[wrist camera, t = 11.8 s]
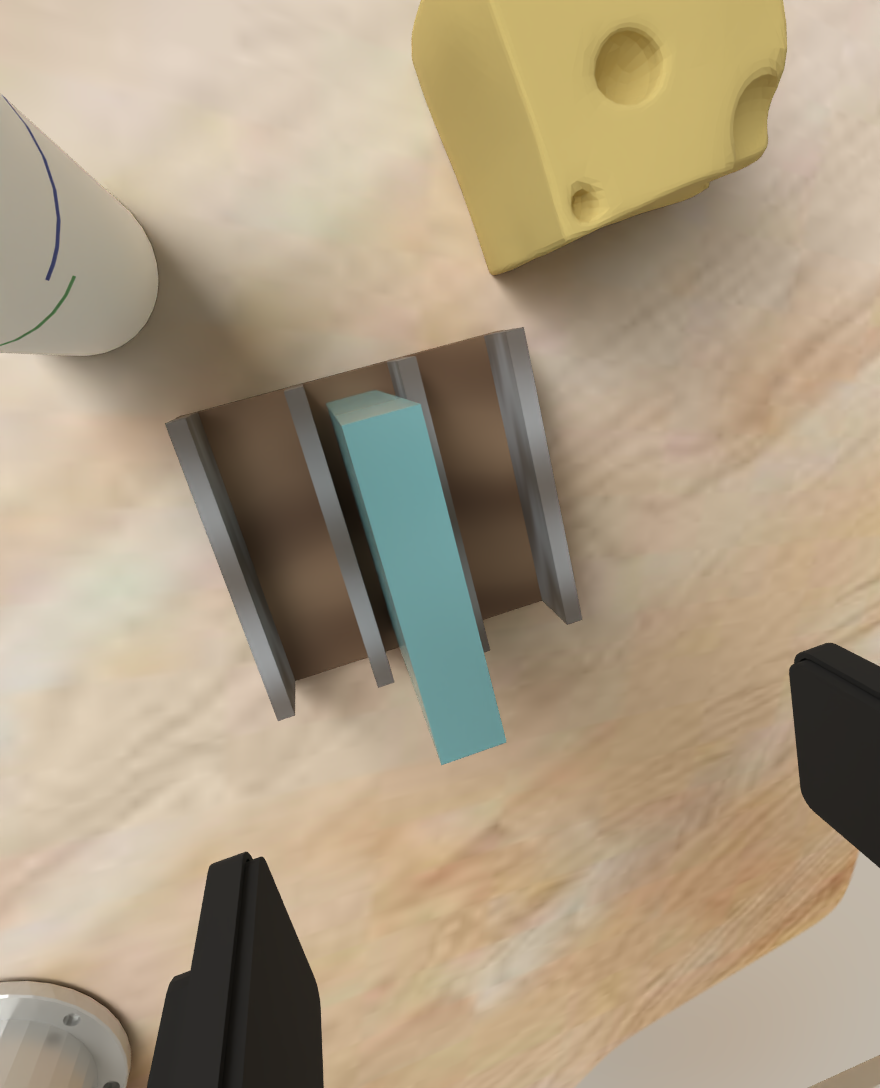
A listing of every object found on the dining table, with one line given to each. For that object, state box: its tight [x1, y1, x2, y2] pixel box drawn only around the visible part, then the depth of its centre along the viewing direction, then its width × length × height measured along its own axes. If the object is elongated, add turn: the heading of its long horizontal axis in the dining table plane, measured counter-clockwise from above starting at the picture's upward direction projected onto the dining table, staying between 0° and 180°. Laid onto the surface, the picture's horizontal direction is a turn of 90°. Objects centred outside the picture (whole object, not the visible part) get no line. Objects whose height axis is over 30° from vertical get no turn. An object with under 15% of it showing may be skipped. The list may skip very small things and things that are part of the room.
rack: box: [165, 327, 582, 721], centre depth 31 cm, size 14×16×5 cm
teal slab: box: [326, 390, 506, 765], centre depth 27 cm, size 12×2×12 cm, turn 14°
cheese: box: [412, 0, 787, 275], centre depth 26 cm, size 10×11×10 cm
